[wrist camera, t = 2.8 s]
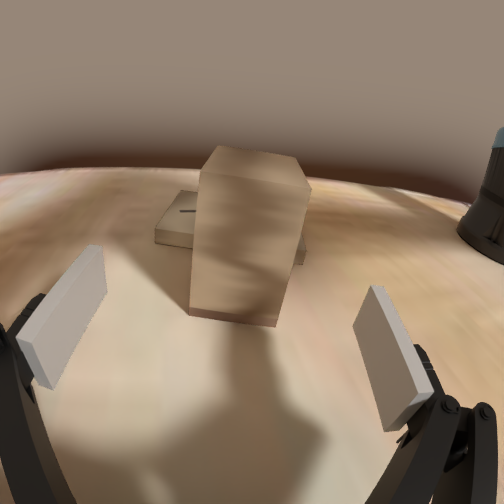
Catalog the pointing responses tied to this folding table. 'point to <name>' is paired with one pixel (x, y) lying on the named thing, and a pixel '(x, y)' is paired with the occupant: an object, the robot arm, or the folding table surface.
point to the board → (192, 225)
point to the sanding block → (246, 235)
